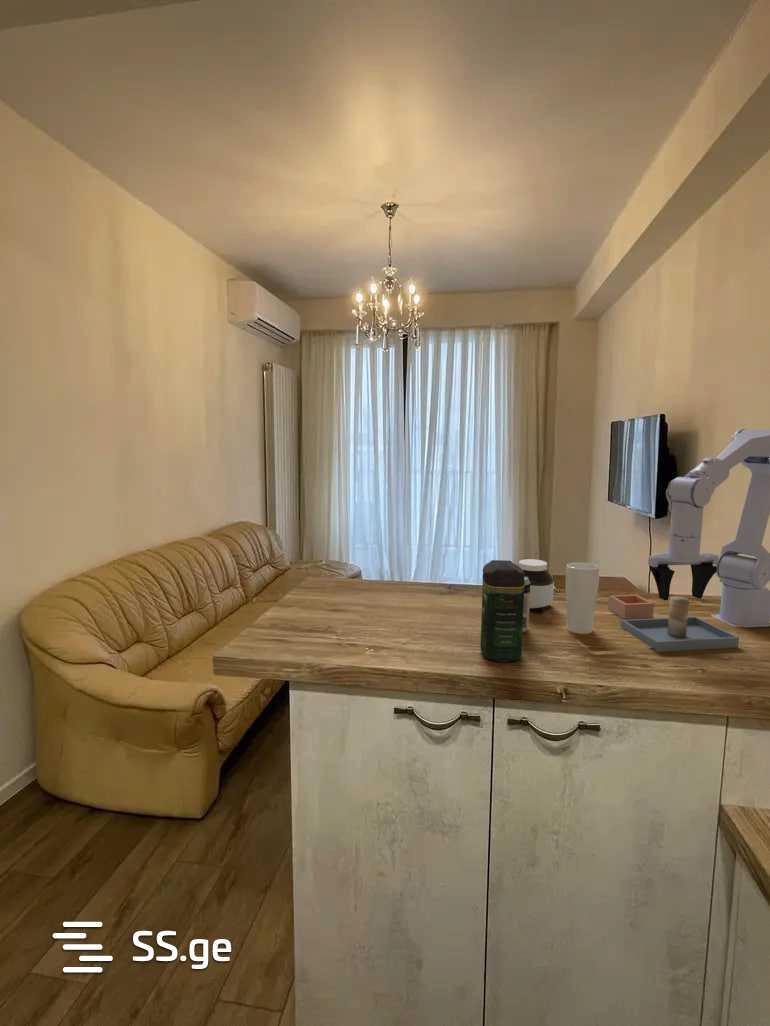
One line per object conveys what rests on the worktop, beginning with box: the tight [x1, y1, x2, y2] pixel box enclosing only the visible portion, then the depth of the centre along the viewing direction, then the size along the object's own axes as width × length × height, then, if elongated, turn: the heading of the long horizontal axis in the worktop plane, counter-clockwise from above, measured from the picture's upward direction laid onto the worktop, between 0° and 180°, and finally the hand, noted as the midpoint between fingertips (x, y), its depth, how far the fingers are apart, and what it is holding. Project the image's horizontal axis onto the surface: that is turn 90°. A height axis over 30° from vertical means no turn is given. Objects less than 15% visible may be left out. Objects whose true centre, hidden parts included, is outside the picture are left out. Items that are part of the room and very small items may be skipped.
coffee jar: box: [480, 559, 525, 663], centre depth 108 cm, size 10×8×19 cm
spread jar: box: [518, 558, 555, 613], centre depth 136 cm, size 12×11×12 cm
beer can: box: [522, 576, 530, 634], centre depth 121 cm, size 5×5×12 cm
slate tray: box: [620, 615, 740, 653], centre depth 117 cm, size 18×13×2 cm
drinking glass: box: [565, 561, 600, 635], centre depth 120 cm, size 7×7×15 cm
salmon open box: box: [607, 594, 655, 620], centre depth 131 cm, size 7×7×4 cm
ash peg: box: [668, 595, 690, 638], centre depth 117 cm, size 4×4×8 cm
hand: (680, 598), depth 116 cm, fingers open, 7 cm apart
